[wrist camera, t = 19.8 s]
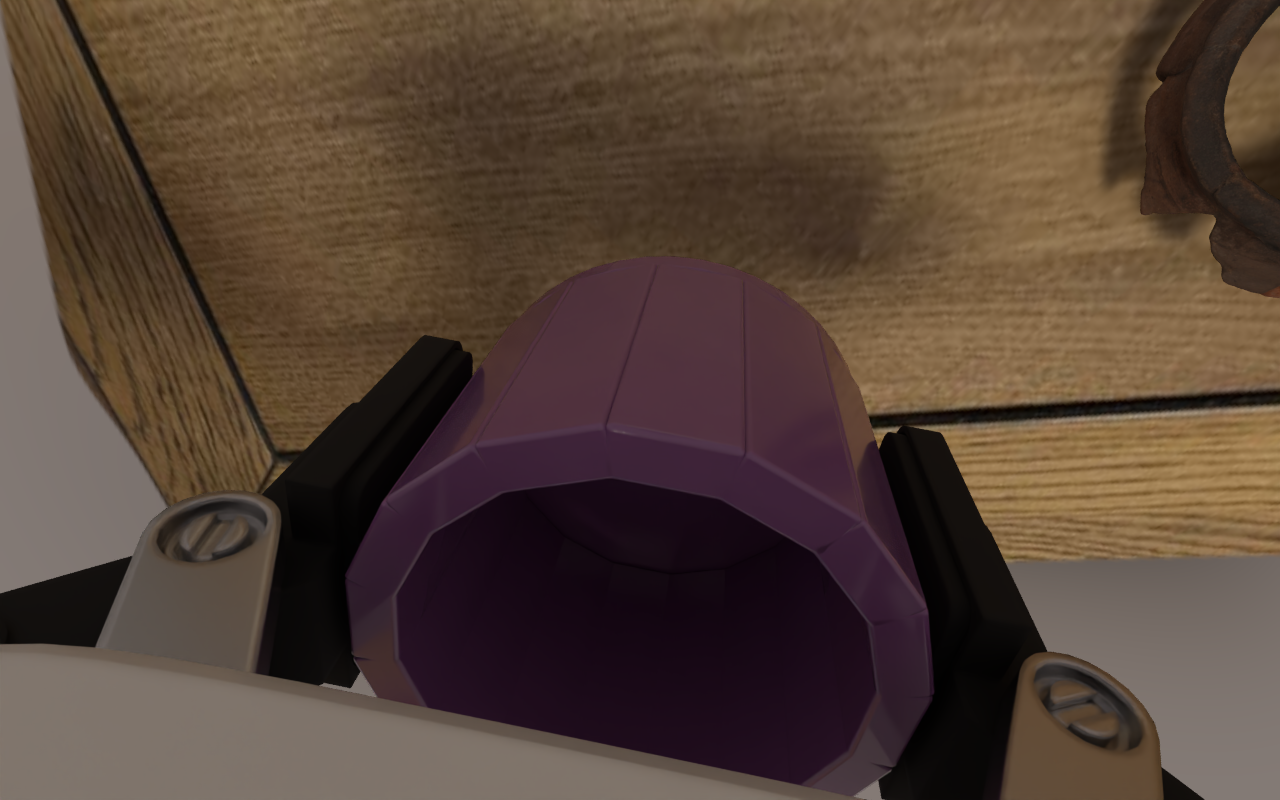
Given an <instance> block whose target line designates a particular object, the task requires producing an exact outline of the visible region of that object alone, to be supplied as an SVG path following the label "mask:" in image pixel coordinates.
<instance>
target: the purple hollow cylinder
mask: <svg viewBox="0 0 1280 800" xmlns="http://www.w3.org/2000/svg"><path fill="white" fill-rule="evenodd" d="M345 578H346V579H345V592H346V603H347V613H348V624H349V634H350V645H351V653H352V655H353V656H354V662H355V664H356V665H357V667H358V668H359V670H360V672H361V673H362V675H363V676H364V678H365V680H366V681H367V683H368V685H369V686H370V688H371V689H372V691H373V693H374V694H375V696H376V697H377V698H382V699H386V700H391V701H396V702H401V703H406V704H411V705H416V706H421V707H426V708H431V709H436V710H441V711H446V712H451V713H455V714H460V715H465V716H470V717H475V718H480V719H485V720H490V721H495V722H500V723H505V724H509V725H514V726H519V727H524V728H529V729H534V730H538V731H543V732H548V733H553V734H558V735H562V736H567V737H572V738H577V739H582V740H586V741H591V742H596V743H601V744H606V745H611V746H615V747H620V748H625V749H630V750H634V751H639V752H644V753H649V754H654V755H658V756H663V757H668V758H673V759H677V760H682V761H687V762H692V763H697V764H701V765H706V766H711V767H716V768H720V769H725V770H730V771H735V772H739V773H744V774H749V775H754V776H758V777H763V778H768V779H772V780H777V781H782V782H786V783H791V784H796V785H800V786H805V787H810V788H814V789H819V790H824V791H828V792H833V793H838V794H842V795H847V796H852V797H854V796H856V795H857V794H859V793H860V792H862V791H863V790H865V789H866V788H868V787H869V786H871V785H872V784H874V783H875V782H877V781H878V780H879V779H881V778H882V777H884V776H885V775H887V774H888V773H890V772H891V770H892V767H895V766H897V764H898V762H899V760H900V759H901V757H902V755H903V753H904V751H905V750H906V748H907V746H908V744H909V742H910V741H911V739H912V737H913V735H914V734H915V732H916V730H917V728H918V726H919V725H920V723H921V721H922V719H923V717H924V716H925V714H926V712H927V710H928V708H929V707H930V705H931V703H932V700H933V694H934V691H935V684H934V671H933V658H932V645H931V632H930V620H929V610H928V607H927V604H926V600H925V597H924V594H923V591H922V588H921V584H920V581H919V578H918V575H917V572H916V568H915V565H914V562H913V559H912V555H911V552H910V549H909V546H908V543H907V539H906V536H905V533H904V530H903V527H902V523H901V520H900V517H899V514H898V511H897V507H896V504H895V501H894V498H893V494H892V491H891V488H890V485H889V482H888V478H887V475H886V472H885V469H884V466H883V462H882V459H881V456H880V453H879V449H878V446H877V443H876V440H875V437H874V433H873V430H872V427H871V424H870V421H869V417H868V414H867V411H866V408H865V405H864V401H863V398H862V395H861V392H860V389H859V387H858V385H857V384H856V382H855V380H854V379H853V377H852V376H851V373H850V370H849V368H848V365H847V363H846V362H845V360H844V358H843V356H842V354H841V353H840V351H839V349H838V347H837V345H836V344H835V342H834V341H833V340H832V339H831V337H830V336H829V335H828V333H827V332H826V331H825V329H824V328H823V327H822V326H821V324H820V323H819V322H818V321H817V320H816V319H815V318H814V317H813V316H812V315H811V314H810V313H808V312H807V311H806V310H805V309H804V308H803V307H802V306H801V305H800V304H798V303H797V302H796V301H794V300H793V299H792V298H790V297H789V296H788V295H786V294H785V293H784V292H782V291H781V290H779V289H777V288H776V287H774V286H772V285H770V284H768V283H767V282H765V281H763V280H761V279H759V278H757V277H755V276H753V275H750V274H748V273H745V272H743V271H740V270H738V269H735V268H732V267H730V266H726V265H722V264H718V263H714V262H710V261H706V260H701V259H692V258H684V257H675V256H662V257H640V258H633V259H626V260H619V261H616V262H612V263H608V264H605V265H601V266H598V267H594V268H591V269H589V270H587V271H584V272H582V273H580V274H577V275H575V276H573V277H571V278H569V279H567V280H565V281H564V282H562V283H560V284H559V285H557V286H555V287H554V288H552V289H550V290H549V291H547V292H546V293H545V294H544V295H543V296H541V297H540V298H539V299H538V300H537V301H535V302H534V303H533V304H532V305H530V306H529V307H528V309H527V310H526V311H525V312H524V313H523V314H522V315H521V316H520V317H519V318H518V319H517V320H515V321H514V322H513V323H512V324H511V325H510V326H509V327H508V328H507V329H506V331H505V332H504V333H503V335H502V336H501V338H500V339H499V340H498V342H497V343H496V344H495V346H494V347H493V349H492V350H491V351H490V353H489V354H488V356H487V357H486V358H485V360H484V361H483V362H482V364H481V365H480V367H479V368H478V369H477V371H476V372H475V374H474V375H473V376H472V378H471V379H470V380H469V382H468V383H467V385H466V386H465V387H464V389H463V390H462V392H461V393H460V394H459V396H458V397H457V398H456V400H455V401H454V403H453V404H452V405H451V407H450V408H449V410H448V411H447V412H446V414H445V415H444V416H443V418H442V419H441V421H440V422H439V423H438V425H437V426H436V428H435V429H434V430H433V432H432V433H431V435H430V436H429V437H428V439H427V440H426V441H425V443H424V444H423V446H422V447H421V448H420V450H419V451H418V453H417V454H416V455H415V457H414V458H413V459H412V461H411V462H410V464H409V465H408V466H407V468H406V469H405V471H404V472H403V473H402V475H401V476H400V477H399V479H398V480H397V482H396V483H395V484H394V486H393V487H392V489H391V490H390V491H389V493H388V494H387V495H386V497H385V498H384V500H383V501H382V502H381V504H380V506H379V508H378V510H377V512H376V514H375V516H374V518H373V520H372V522H371V524H370V526H369V528H368V530H367V531H366V533H365V535H364V537H363V539H362V541H361V543H360V545H359V547H358V549H357V551H356V553H355V555H354V557H353V559H352V561H351V563H350V565H349V567H348V568H347V570H346V573H345Z"/></svg>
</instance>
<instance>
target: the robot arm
mask: <svg viewBox="0 0 1280 800" xmlns="http://www.w3.org/2000/svg"><path fill="white" fill-rule="evenodd" d="M472 368H473V360H472V354H471V353H470V352H465V351H463V349H462V345H461V343H460V342H459V341H454V340H448V339H443V338H438V337H433V336H427V335H424V336H423V337H421V338H420V339H419V340H418V341H417V342H416V343H415V344H414V345H413V346H412V348H411V349H410V350H409V351H408V352H407V353H406V354H405V355H404V356H403V357H402V358H401V359H400V360H399V361H398V362H397V363H396V364H395V365H394V366H393V367H392V368H391V369H390V370H389V371H388V373H387V374H386V375H385V376H384V377H383V378H382V379H381V380H380V381H379V382H378V383H377V384H376V385H375V386H374V387H373V388H372V389H371V390H370V391H369V392H368V393H367V394H366V395H365V396H364V397H363V399H362V400H361V401H360V402H358V403H352V404H351V405H350V406H348V407H347V408H346V409H345V410H344V411H343V412H342V413H341V414H340V415H339V416H338V417H337V418H336V419H335V420H334V421H333V422H332V423H331V424H330V425H329V426H328V427H327V428H326V429H325V430H324V431H323V432H322V433H321V434H320V435H319V436H318V437H317V438H316V439H315V440H314V441H313V442H312V443H311V444H310V445H309V447H308V448H307V449H306V450H305V451H304V452H303V453H302V454H301V455H300V456H299V457H298V458H297V459H296V460H295V461H294V462H293V463H292V464H291V465H290V466H289V467H288V468H287V469H286V470H285V471H284V472H283V473H282V474H281V475H280V476H279V477H278V478H277V479H276V480H275V481H274V482H273V483H272V484H271V485H270V486H269V487H268V488H267V489H266V490H265V491H264V493H263V494H262V495H261V494H257V493H253V492H249V491H244V490H222V491H215V492H208V493H203V494H200V495H196V496H193V497H190V498H187V499H184V500H182V501H180V502H178V503H176V504H174V505H172V506H170V507H168V508H166V509H165V510H163V511H162V512H161V513H160V514H158V515H157V516H156V517H155V518H154V519H152V520H151V521H150V523H149V524H148V526H147V527H146V529H145V530H144V532H143V533H142V535H141V537H140V540H139V542H138V545H137V547H136V549H135V552H134V554H133V556H130V557H127V558H123V559H120V560H116V561H113V562H109V563H106V564H102V565H99V566H95V567H91V568H88V569H84V570H81V571H78V572H74V573H70V574H67V575H63V576H60V577H56V578H53V579H49V580H46V581H42V582H39V583H35V584H32V585H28V586H25V587H22V588H18V589H15V590H11V591H8V592H4V593H0V800H866V799H861V798H856V797H852V796H847V795H842V794H838V793H833V792H828V791H824V790H819V789H814V788H810V787H805V786H800V785H796V784H791V783H786V782H782V781H777V780H772V779H768V778H763V777H758V776H754V775H749V774H744V773H739V772H735V771H730V770H725V769H720V768H716V767H711V766H706V765H701V764H697V763H692V762H687V761H682V760H677V759H673V758H668V757H663V756H658V755H654V754H649V753H644V752H639V751H634V750H630V749H625V748H620V747H615V746H611V745H606V744H601V743H596V742H591V741H586V740H582V739H577V738H572V737H567V736H562V735H558V734H553V733H548V732H543V731H538V730H534V729H529V728H524V727H519V726H514V725H509V724H505V723H500V722H495V721H490V720H485V719H480V718H475V717H470V716H465V715H460V714H455V713H451V712H446V711H441V710H436V709H431V708H426V707H421V706H416V705H411V704H406V703H401V702H396V701H391V700H386V699H382V698H377V697H371V696H367V695H362V694H357V693H352V692H347V691H342V690H337V689H332V688H327V687H322V686H319V685H321V684H323V683H328V684H333V685H338V686H342V687H347V688H351V687H352V685H353V683H354V681H355V680H356V678H357V676H358V675H359V673H360V670H359V668H358V667H357V665H356V664H355V662H354V656H353V655H352V653H351V645H350V634H349V624H348V613H347V603H346V592H345V579H346V578H345V573H346V570H347V568H348V567H349V565H350V563H351V561H352V559H353V557H354V555H355V553H356V551H357V549H358V547H359V545H360V543H361V541H362V539H363V537H364V535H365V533H366V531H367V530H368V528H369V526H370V524H371V522H372V520H373V518H374V516H375V514H376V512H377V510H378V508H379V506H380V504H381V502H382V501H383V500H384V498H385V497H386V495H387V494H388V493H389V491H390V490H391V489H392V487H393V486H394V484H395V483H396V482H397V480H398V479H399V477H400V476H401V475H402V473H403V472H404V471H405V469H406V468H407V466H408V465H409V464H410V462H411V461H412V459H413V458H414V457H415V455H416V454H417V453H418V451H419V450H420V448H421V447H422V446H423V444H424V443H425V441H426V440H427V439H428V437H429V436H430V435H431V433H432V432H433V430H434V429H435V428H436V426H437V425H438V423H439V422H440V421H441V419H442V418H443V416H444V415H445V414H446V412H447V411H448V410H449V408H450V407H451V405H452V404H453V403H454V401H455V400H456V398H457V397H458V396H459V394H460V393H461V392H462V390H463V389H464V387H465V386H466V385H467V383H468V382H469V380H470V379H471V378H472ZM879 453H880V456H881V459H882V462H883V466H884V469H885V472H886V475H887V478H888V482H889V485H890V488H891V491H892V494H893V498H894V501H895V504H896V507H897V511H898V514H899V517H900V520H901V523H902V527H903V530H904V533H905V536H906V539H907V543H908V546H909V549H910V552H911V555H912V559H913V562H914V565H915V568H916V572H917V575H918V578H919V581H920V584H921V588H922V591H923V594H924V597H925V600H926V604H927V607H928V610H929V620H930V632H931V645H932V658H933V671H934V684H935V691H934V694H933V700H932V703H931V705H930V707H929V708H928V710H927V712H926V714H925V716H924V717H923V719H922V721H921V723H920V725H919V726H918V728H917V730H916V732H915V734H914V735H913V737H912V739H911V741H910V742H909V744H908V746H907V748H906V750H905V751H904V753H903V755H902V757H901V759H900V760H899V762H898V764H897V766H895V767H892V770H891V772H890V773H888V774H887V775H885V776H884V777H882V778H881V779H879V780H878V781H879V787H880V793H881V798H882V799H885V800H1204V799H1203V798H1202V797H1200V796H1199V795H1198V794H1197V793H1195V792H1194V791H1192V790H1191V789H1190V788H1189V787H1187V786H1186V785H1185V784H1183V783H1182V782H1180V781H1179V780H1178V779H1177V778H1175V777H1174V776H1173V775H1171V774H1170V773H1169V772H1167V771H1166V770H1165V769H1163V768H1162V767H1161V756H1160V741H1159V737H1158V733H1157V730H1156V726H1155V724H1154V721H1153V720H1152V718H1151V717H1150V715H1149V713H1148V712H1147V710H1146V709H1145V707H1144V706H1143V704H1142V703H1141V702H1140V701H1139V700H1138V699H1137V698H1136V697H1135V696H1134V695H1133V694H1132V693H1131V692H1130V691H1129V689H1127V688H1126V687H1125V686H1124V685H1122V684H1121V683H1120V682H1119V681H1117V680H1116V679H1115V678H1114V677H1112V676H1111V675H1110V674H1108V673H1107V672H1105V671H1103V670H1101V669H1100V668H1098V667H1096V666H1094V665H1093V664H1091V663H1089V662H1087V661H1084V660H1081V659H1079V658H1076V657H1073V656H1071V655H1067V654H1062V653H1056V652H1047V650H1046V647H1045V645H1044V643H1043V641H1042V639H1041V637H1040V635H1039V633H1038V631H1037V628H1036V626H1035V624H1034V622H1033V620H1032V618H1031V616H1030V614H1029V612H1028V609H1027V607H1026V605H1025V603H1024V601H1023V599H1022V597H1021V595H1020V593H1019V591H1018V588H1017V586H1016V584H1015V582H1014V580H1013V578H1012V576H1011V574H1010V571H1009V569H1008V567H1007V565H1006V563H1005V561H1004V559H1003V557H1002V555H1001V552H1000V550H999V548H998V546H997V544H996V542H995V540H994V538H993V536H992V533H991V532H990V530H989V529H988V528H987V526H986V525H985V524H984V522H983V520H982V518H981V516H980V514H979V511H978V509H977V507H976V505H975V503H974V501H973V499H972V496H971V494H970V492H969V490H968V488H967V486H966V484H965V482H964V479H963V477H962V475H961V473H960V471H959V469H958V467H957V464H956V462H955V460H954V458H953V456H952V454H951V452H950V450H949V447H948V445H947V443H946V441H945V439H944V437H943V435H942V434H941V433H939V432H935V431H930V430H924V429H919V428H914V427H908V426H902V427H901V428H900V429H899V430H898V431H897V433H892V432H888V433H887V434H886V435H885V436H884V438H883V441H882V443H881V446H880V448H879Z"/></svg>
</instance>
